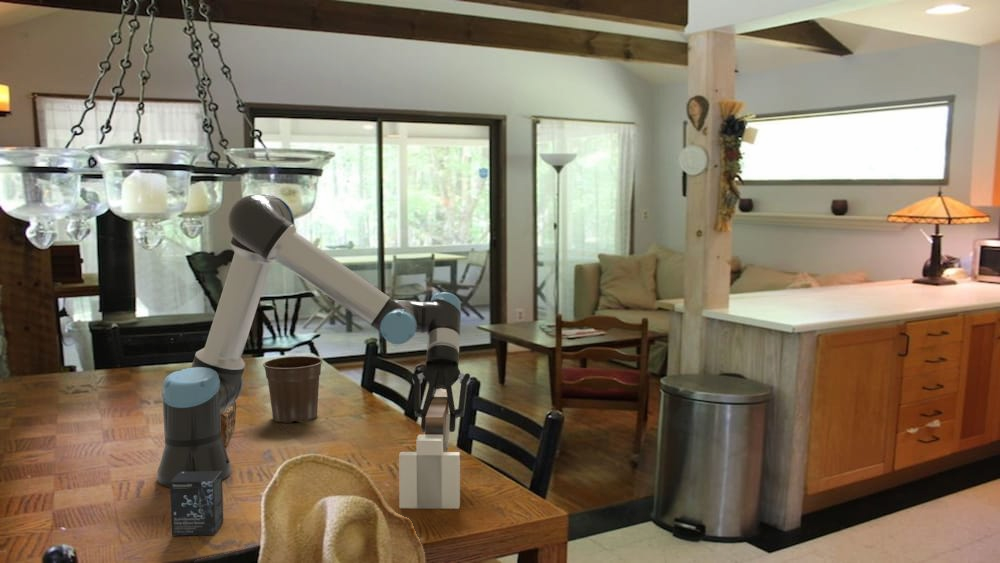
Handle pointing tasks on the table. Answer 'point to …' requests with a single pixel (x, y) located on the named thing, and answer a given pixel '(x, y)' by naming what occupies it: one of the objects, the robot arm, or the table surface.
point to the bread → (228, 423)
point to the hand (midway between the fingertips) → (437, 444)
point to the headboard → (429, 475)
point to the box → (196, 503)
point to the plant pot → (293, 387)
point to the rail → (437, 418)
